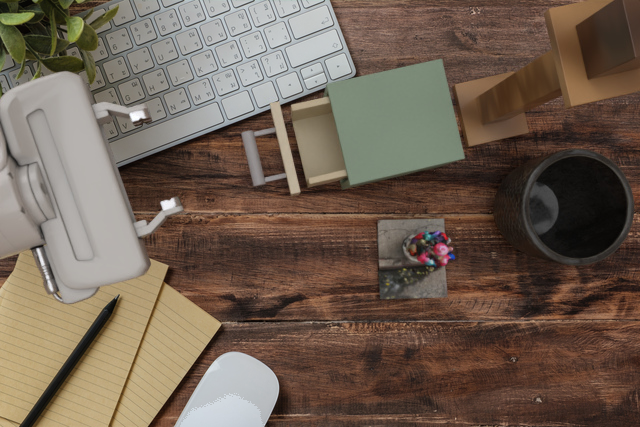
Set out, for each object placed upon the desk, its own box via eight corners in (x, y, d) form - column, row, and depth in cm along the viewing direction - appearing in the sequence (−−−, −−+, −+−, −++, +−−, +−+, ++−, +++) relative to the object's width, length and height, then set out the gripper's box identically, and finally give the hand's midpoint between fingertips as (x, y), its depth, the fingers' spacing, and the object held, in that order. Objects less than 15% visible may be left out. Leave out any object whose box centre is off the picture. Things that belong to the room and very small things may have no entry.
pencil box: (574, 25, 43) (621, -6, 37) (626, 14, 43) (681, -19, 37) (587, 80, 43) (635, 58, 37) (639, 68, 43) (695, 44, 37)
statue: (375, 221, 69) (396, 206, 54) (439, 220, 69) (478, 205, 54) (378, 298, 68) (400, 305, 53) (444, 296, 68) (484, 302, 53)
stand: (451, 86, 69) (548, 8, 43) (511, 73, 69) (642, -12, 43) (465, 147, 69) (571, 106, 43) (525, 134, 69) (664, 85, 43)
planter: (478, 258, 69) (522, 267, 56) (477, 160, 69) (520, 148, 56) (572, 256, 70) (637, 265, 57) (571, 160, 70) (635, 147, 57)
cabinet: (341, 189, 67) (350, 185, 58) (321, 102, 67) (326, 83, 58) (440, 166, 68) (465, 158, 59) (420, 80, 68) (442, 58, 59)
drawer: (259, 204, 66) (255, 202, 58) (240, 123, 66) (234, 110, 58) (385, 175, 67) (397, 169, 59) (366, 95, 67) (376, 79, 59)
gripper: (40, 315, 41) (199, 259, 43) (-40, 88, 41) (124, 47, 44) (64, 307, 47) (202, 258, 50) (-5, 109, 47) (137, 72, 50)
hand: (165, 158), depth 47 cm, fingers open, 8 cm apart
